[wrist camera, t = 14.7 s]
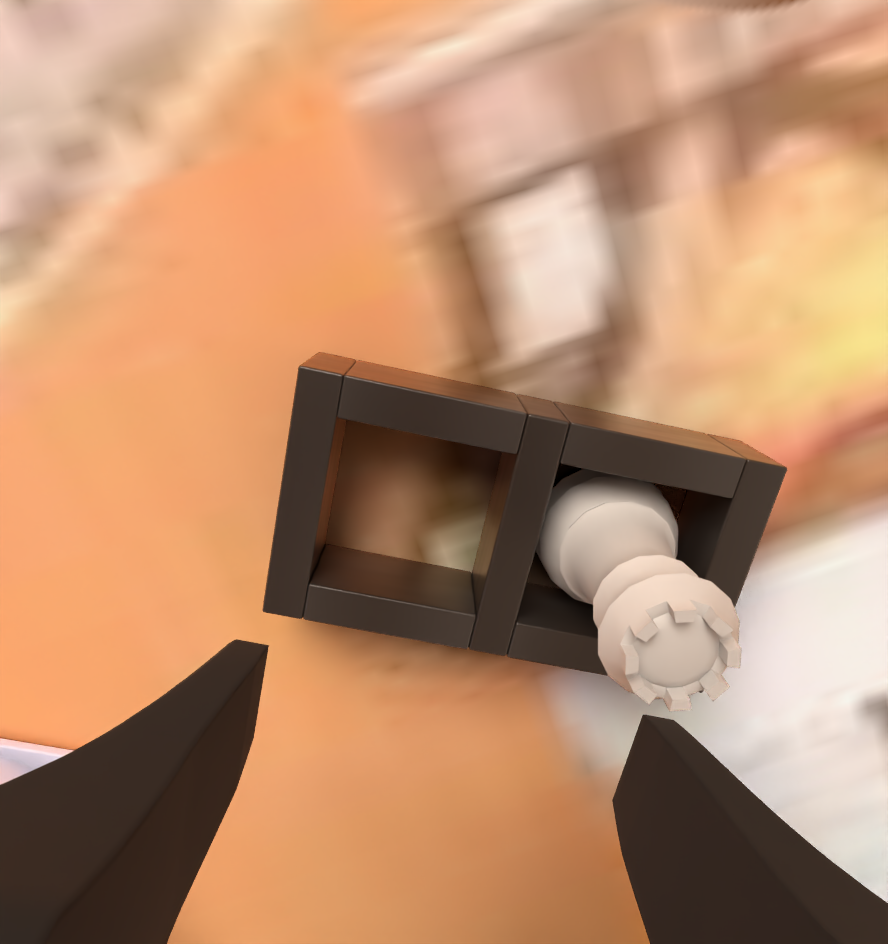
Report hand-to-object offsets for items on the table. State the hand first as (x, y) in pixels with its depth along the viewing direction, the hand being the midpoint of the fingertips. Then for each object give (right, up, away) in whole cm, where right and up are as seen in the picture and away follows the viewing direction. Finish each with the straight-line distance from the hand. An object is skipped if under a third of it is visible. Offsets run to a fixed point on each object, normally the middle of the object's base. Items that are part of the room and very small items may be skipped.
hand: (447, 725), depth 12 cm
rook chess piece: (+5, +3, +10) cm, 11 cm away
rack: (+2, +4, +9) cm, 10 cm away
